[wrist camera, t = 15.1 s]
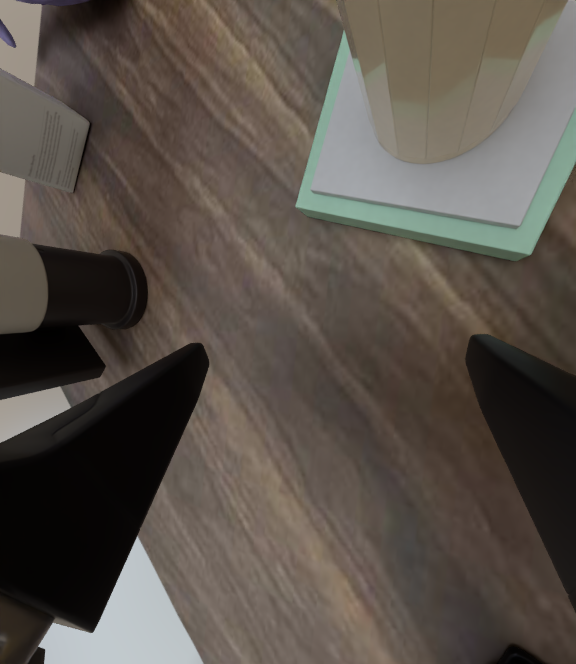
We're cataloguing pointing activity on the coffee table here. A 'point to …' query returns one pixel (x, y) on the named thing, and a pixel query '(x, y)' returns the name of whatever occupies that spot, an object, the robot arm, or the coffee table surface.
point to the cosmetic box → (39, 135)
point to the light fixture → (60, 311)
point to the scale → (451, 165)
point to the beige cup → (443, 68)
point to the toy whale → (3, 32)
